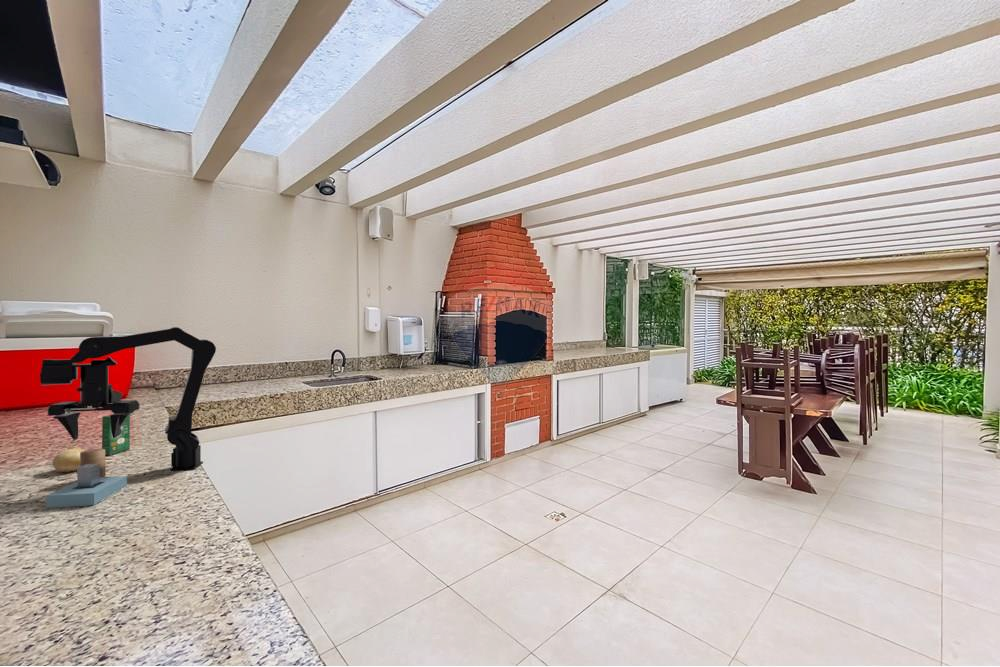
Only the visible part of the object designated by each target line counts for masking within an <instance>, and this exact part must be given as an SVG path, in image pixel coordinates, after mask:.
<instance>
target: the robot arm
mask: <svg viewBox="0 0 1000 667" xmlns="http://www.w3.org/2000/svg"><path fill="white" fill-rule="evenodd" d="M173 341H175V342H177V343H179V344H181V345H182V346H184V347H186V348H188V349H190V350H191V355H190V356H191V358H190V359H191V362H190V369H189V373H188V377H187V379H186V384H185V385H184V390H183V393H182V396H181V400H180V402H179V403H180V404H179V407H178V410H177V412H176V413H175V415H174V417H172V416H168V420H167V421H168V422H167V425H166V427H165V428H164V434H166V437H167V441H168V443H169V444H171V445H173V446H175V447H173V448H172V452H171V453H170V454H171V455H170V456H171V457H170V459H171V460H170V462H171V463H170V464H171V465H170V466H171V467H170V468H169V471H185V470H187V471H189V470H194V469H196V468H199V466H201V465H203V464H204V461H201V460H202V458H201V455H202V453H201V450H202V449H201V448H202V447H201V444H200V440H199V437H198V435H196V434H195V433H193V432H192V428H193V427H192V425H193V414H194V410H195V407H196V403H197V399H198V396H199V392H200V389H201V385H202V382H203V379H204V375H205V372H206V370H207V368H208V366H209V365H210V363H211V362H212V360H213V359H214V358H213V357H214V356H215V354H216V352H217V347H216V345H215V344H214V342H212V341H210V340H208V339H199V338H197V337H195V336H193V335H191V334H190V333H188V332H186V331H184V330H183V329H182V328H180V327H178V326H176V327H175V326H174V327H173V326H172V327H171V328H167V329H160V330H155V331H147V332H142V333H137V334H129V335H121V336H120V335H119V336H117V335H115V336H114V335H113V336H92V337H87V338H85V339H83V340H82V341H81V342H80V343H79V346H78V352H76V353H75V354H74V355H72V356H71V358H69V359H67V358H66V359H64V358H63V359H53V358H47V359H43V360H41V361H42V365H41V370H40V371H39V372H40V373H39V380H40V385H41V386H55V385H56V386H57V385H70V384H72V383H73V381H75V380H78V376H80V378H79V379H80V387H77V388H76V391H77V392H80V401H79V402H78V401H62V402H57V403H53V404H52V403H51V404H50V405H49V407H48V408H47V409H46V411H47V412H46V413H47V416H48V417H51V416H53V417H52V418H53V419H57V420H58V421H59V423H60V424H61V425H62V426H63V427H64V429H66V432H67V433H68V434H69V435H70V437H71V438H72V440H73V441H74V440H75V441H76V440H78V439H79V417H80V415H81V412H98V411H100V412H101V411H103V412H104V411H111V412H112V414H110V421H111V431H112V436H113V438H116V437H117V435H118V433H119V431H120V428H121V426H122V424H123V422H124V420H125V418H126V417H127V416H128V415H129V414H130V415H131V414H133V413H134V412H135V411H138V410H140V403H139V401H138V400H137V399H129V400H127V399H126V400H122V396H123V392H120V391H118V390H113V386H112V384H109V366H111V367H112V366H117V365H118V362H117V361H115V360H114V359H112V357H111V356H108V355H111V354H114V353H116V352H120V351H122V350H125V349H126V350H127V349H132V348H137V347H143V346H148V345H149V346H150V345H155V344H161V343H166V342H173ZM105 356H108V357H106V358H105V359H98V358H102V357H105ZM89 359H92V360H91V361H90V363H82V362H84V361H86V360H89ZM79 368H80V372H79V371H78V370H79ZM79 374H80V375H79ZM200 464H201V465H200Z"/></svg>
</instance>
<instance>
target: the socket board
mask: <svg viewBox="0 0 1000 667" xmlns="http://www.w3.org/2000/svg"><path fill="white" fill-rule="evenodd" d="M126 486H127V487H128V476H125V475H124V476H106V477H100V485H98V486H96V487H94V488H86V489H78V485H77V481H74V482H72V483H70V484H68V485H66V486H64V487H61V488H60V489H57V490H55V491H53V492H50V493H49V494H46V495H45V508H46V509H53V508H55V507H58V508H70V507H69V506H76V507H89V506H88V505H94V506H96V505H97V503H98V502H100V501H101V500H103V499H105V498H107V497H108V496H110V495H112V494H113V493H115V492H117V491H119V490H121V489H122V488H124V487H126ZM121 491H122V490H121ZM112 496H113V495H112ZM107 499H108V498H107ZM105 500H106V499H105ZM103 501H104V500H103ZM100 503H101V502H100ZM95 504H96V505H95ZM98 504H99V503H98ZM55 509H56V508H55Z"/></svg>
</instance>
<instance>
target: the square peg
mask: <svg viewBox="0 0 1000 667" xmlns="http://www.w3.org/2000/svg"><path fill="white" fill-rule="evenodd" d="M76 472H77V475H76V476H77V479H76V480H77V481H76V482H77V485H78V489H86V488H94V487H96V486H98V485H100V464H86V465H83V466H81V467H78V468H77V471H76Z"/></svg>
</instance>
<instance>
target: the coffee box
mask: <svg viewBox="0 0 1000 667" xmlns="http://www.w3.org/2000/svg"><path fill="white" fill-rule="evenodd" d="M110 415H111V414H110ZM110 415H105V416H102V417H101V419H102V421H101V422H102V423H101V429H102V431H101V449H105V455H110V456H113V455H112V454H114V455H115V453H116V454H119V453H123V452H126V451H129V450H130V446H131V445H130V444H131V442H130V440H131V414H129V415H128V416H127V417H126V418H125V420H124V422H123V424H122V426H121V428H120V431H119V433H118V435H117V437H116V438H113V436H112V431H111V421H110ZM125 450H126V451H125Z"/></svg>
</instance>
